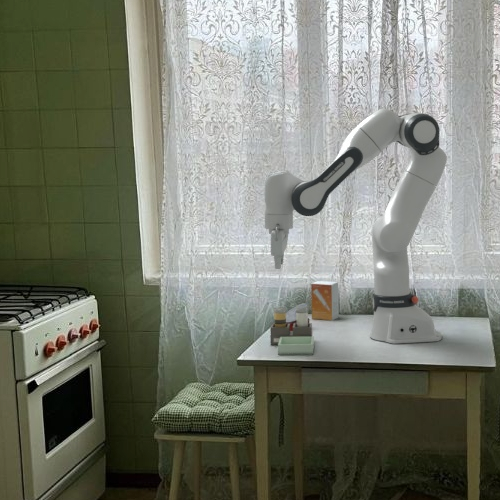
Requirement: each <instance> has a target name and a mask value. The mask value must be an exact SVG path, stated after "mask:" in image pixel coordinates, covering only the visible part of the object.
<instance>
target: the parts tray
mask: <svg viewBox="0 0 500 500" xmlns="http://www.w3.org/2000/svg"><path fill="white" fill-rule="evenodd" d="M314 349H315V336H312V337H280V340H279V343H278V345H277V353H278V355H279V356H280V355H281V356H282V355H290V356H291V355H295V356H296V355H301V356H302V355H313V354H314ZM278 355H277V356H278Z"/></svg>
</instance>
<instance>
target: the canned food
mask: <svg viewBox="0 0 500 500" xmlns="http://www.w3.org/2000/svg"><path fill="white" fill-rule="evenodd" d="M298 307H306V308H308V303H306V302H303V303H300V304H298V305H296V306H294V307H292V308H291V309H289V310H288V311H286V324H290V331H293V324H294V323H297V320H296V308H298ZM308 323H310V318H309V317H308Z"/></svg>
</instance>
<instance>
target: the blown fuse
mask: <svg viewBox="0 0 500 500" xmlns="http://www.w3.org/2000/svg"><path fill="white" fill-rule="evenodd" d="M286 310H287V309H286V307H282V306H281V307H274V308H273V313H274V314H273V316H274V317H273V318H274V319H273V321H274V322H273V324H275V327H286V313H287V311H286Z"/></svg>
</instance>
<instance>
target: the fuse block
mask: <svg viewBox="0 0 500 500" xmlns="http://www.w3.org/2000/svg"><path fill="white" fill-rule="evenodd" d="M269 329H270V337H269V338H270V340H269V341H270V346H278V343H279V340H280V337H313V324H312V323H310V322H309V323H308V327H297V323H294V324H293V331H290V324H286V327H275V324H274V323H271V325H270V328H269Z"/></svg>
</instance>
